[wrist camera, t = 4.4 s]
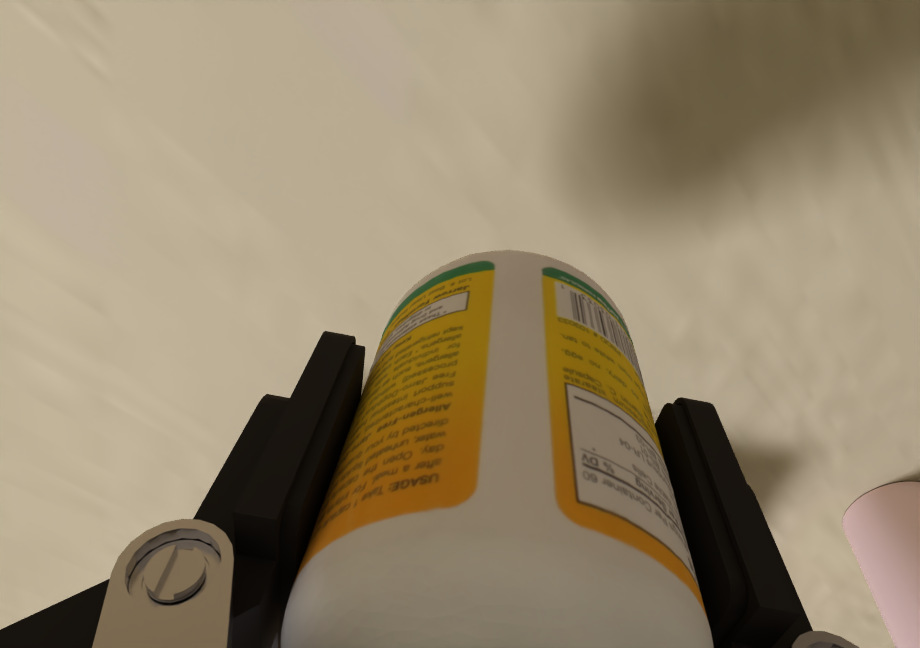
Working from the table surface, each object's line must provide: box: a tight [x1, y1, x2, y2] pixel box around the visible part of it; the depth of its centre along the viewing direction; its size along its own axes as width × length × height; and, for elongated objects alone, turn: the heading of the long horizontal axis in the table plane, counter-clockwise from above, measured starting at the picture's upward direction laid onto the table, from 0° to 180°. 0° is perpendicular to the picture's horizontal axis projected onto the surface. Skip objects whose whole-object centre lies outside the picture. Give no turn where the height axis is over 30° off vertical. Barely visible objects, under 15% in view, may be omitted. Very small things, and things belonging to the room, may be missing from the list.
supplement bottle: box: [280, 250, 714, 648], centre depth 9 cm, size 5×5×10 cm
